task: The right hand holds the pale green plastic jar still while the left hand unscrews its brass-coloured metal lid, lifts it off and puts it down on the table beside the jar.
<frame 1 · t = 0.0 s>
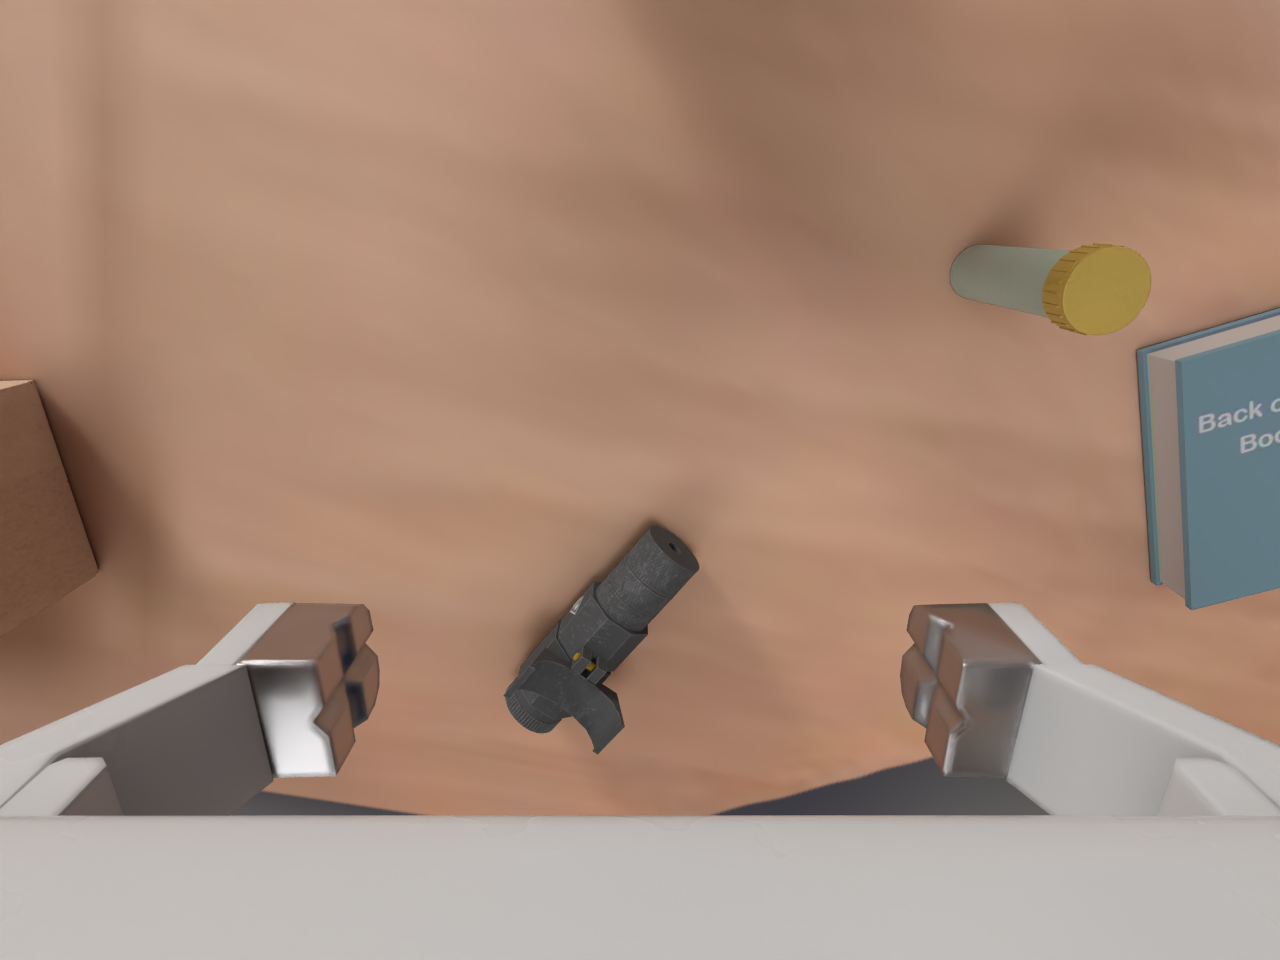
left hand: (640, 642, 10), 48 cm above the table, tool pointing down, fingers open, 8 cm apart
lid: (1103, 291, 40), point 16 cm above the table, screwed on, not yet turned
jar: (976, 272, 55), on the table
laser sight: (598, 615, 66), on the table
book: (1238, 446, 60), on the table
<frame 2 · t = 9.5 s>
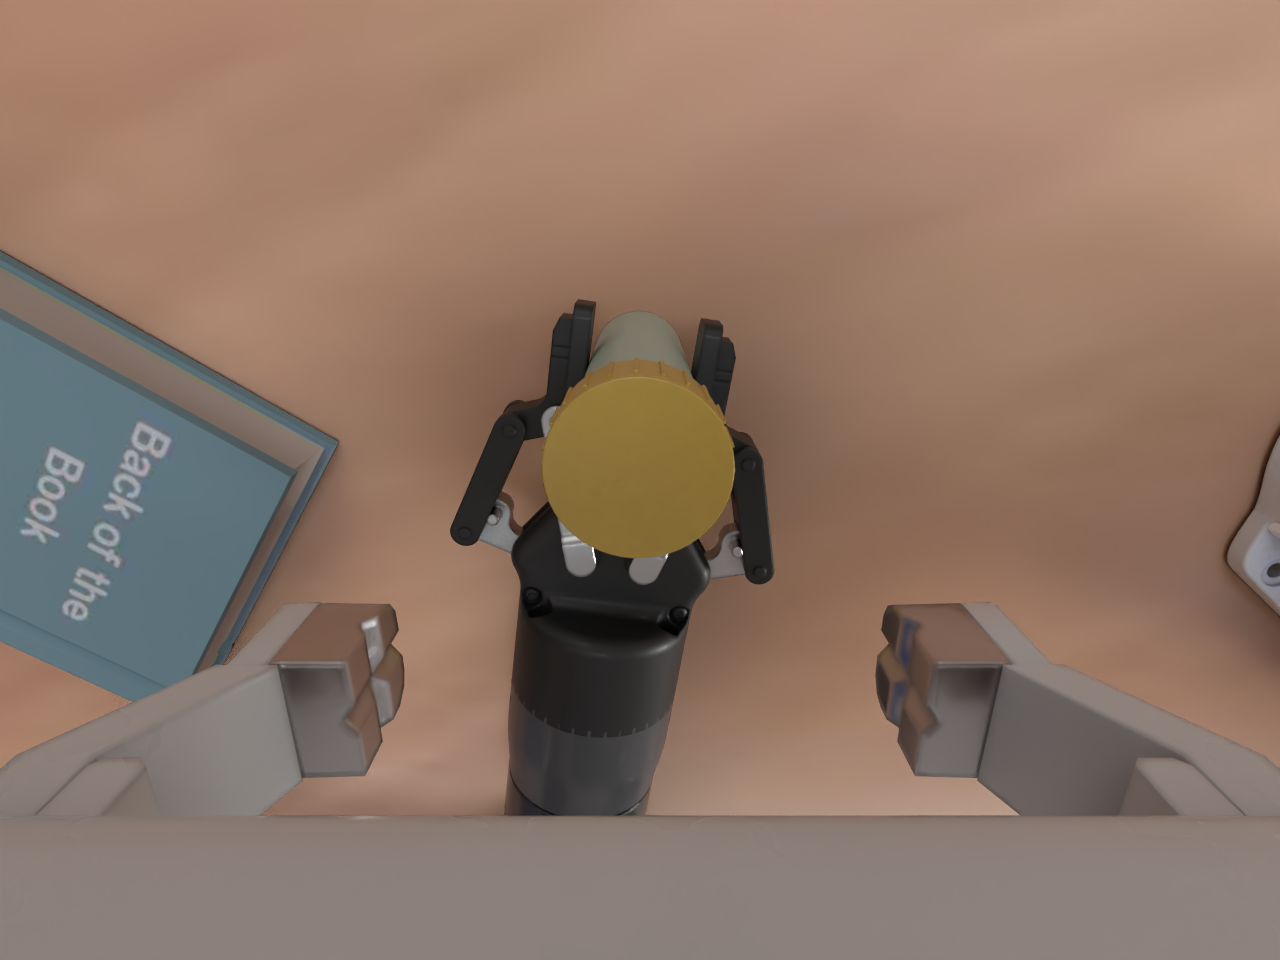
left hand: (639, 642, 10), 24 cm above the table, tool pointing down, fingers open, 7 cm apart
right hand: (648, 314, 26), fingers closed on jar, 4 cm apart
lid: (638, 467, 18), point 16 cm above the table, screwed on, not yet turned
jar: (638, 355, 33), on the table, touching right hand
book: (65, 451, 34), on the table
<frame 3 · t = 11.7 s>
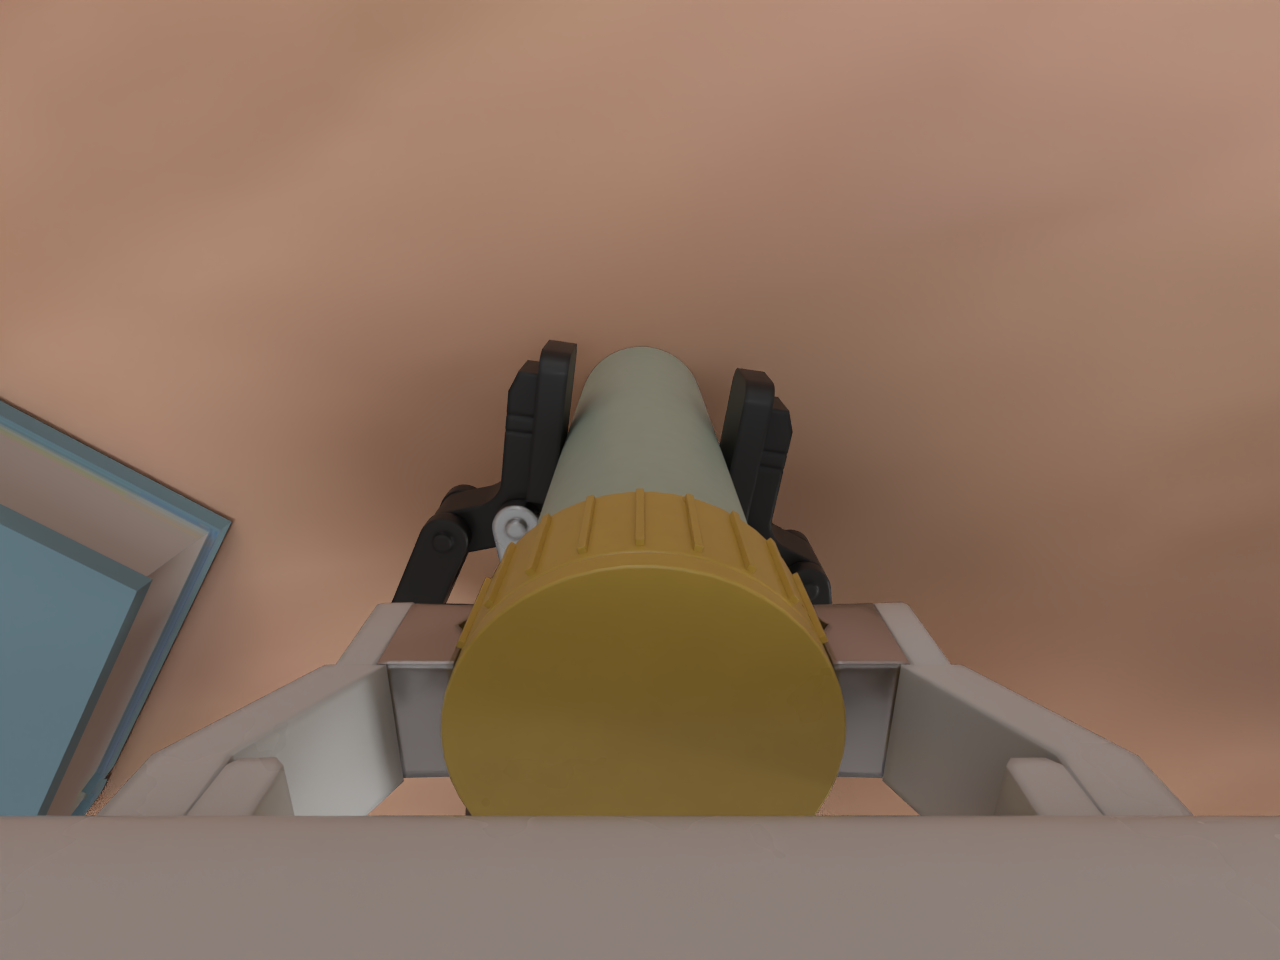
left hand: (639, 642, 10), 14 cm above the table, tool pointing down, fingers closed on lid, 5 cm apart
lid: (643, 726, 9), point 16 cm above the table, screwed on, not yet turned, touching left hand
jar: (641, 407, 24), on the table, touching right hand
when the left hand's fingers open (14 cm above the table, at t = 12.9 s): lid stays where it is, point 16 cm above the table.
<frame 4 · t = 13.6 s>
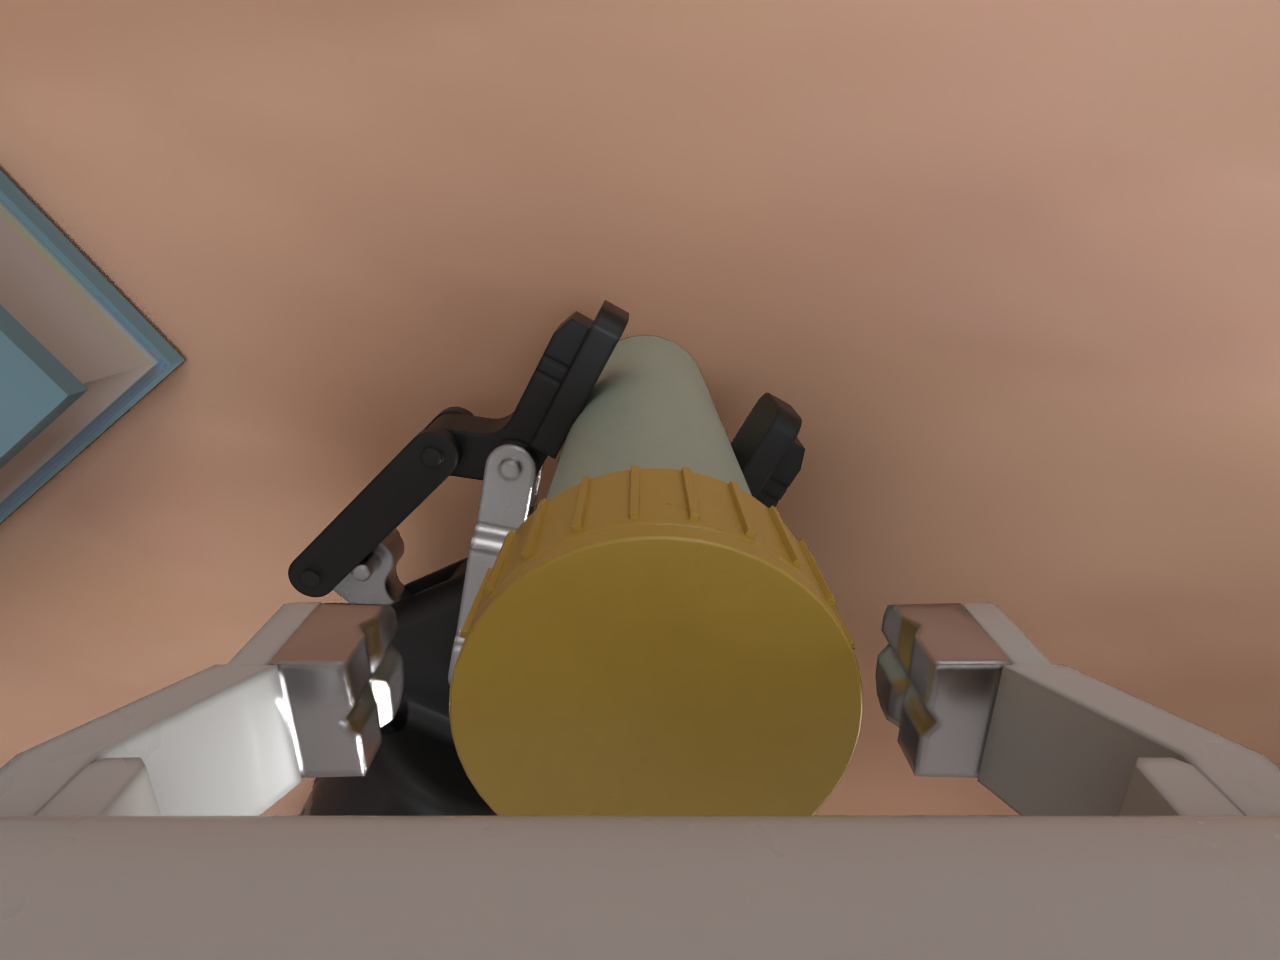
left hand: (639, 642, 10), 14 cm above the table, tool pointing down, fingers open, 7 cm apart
lid: (655, 704, 8), point 16 cm above the table, turned 72° so far, risen 0.2 cm, still on its thread
jar: (644, 396, 24), on the table, touching right hand
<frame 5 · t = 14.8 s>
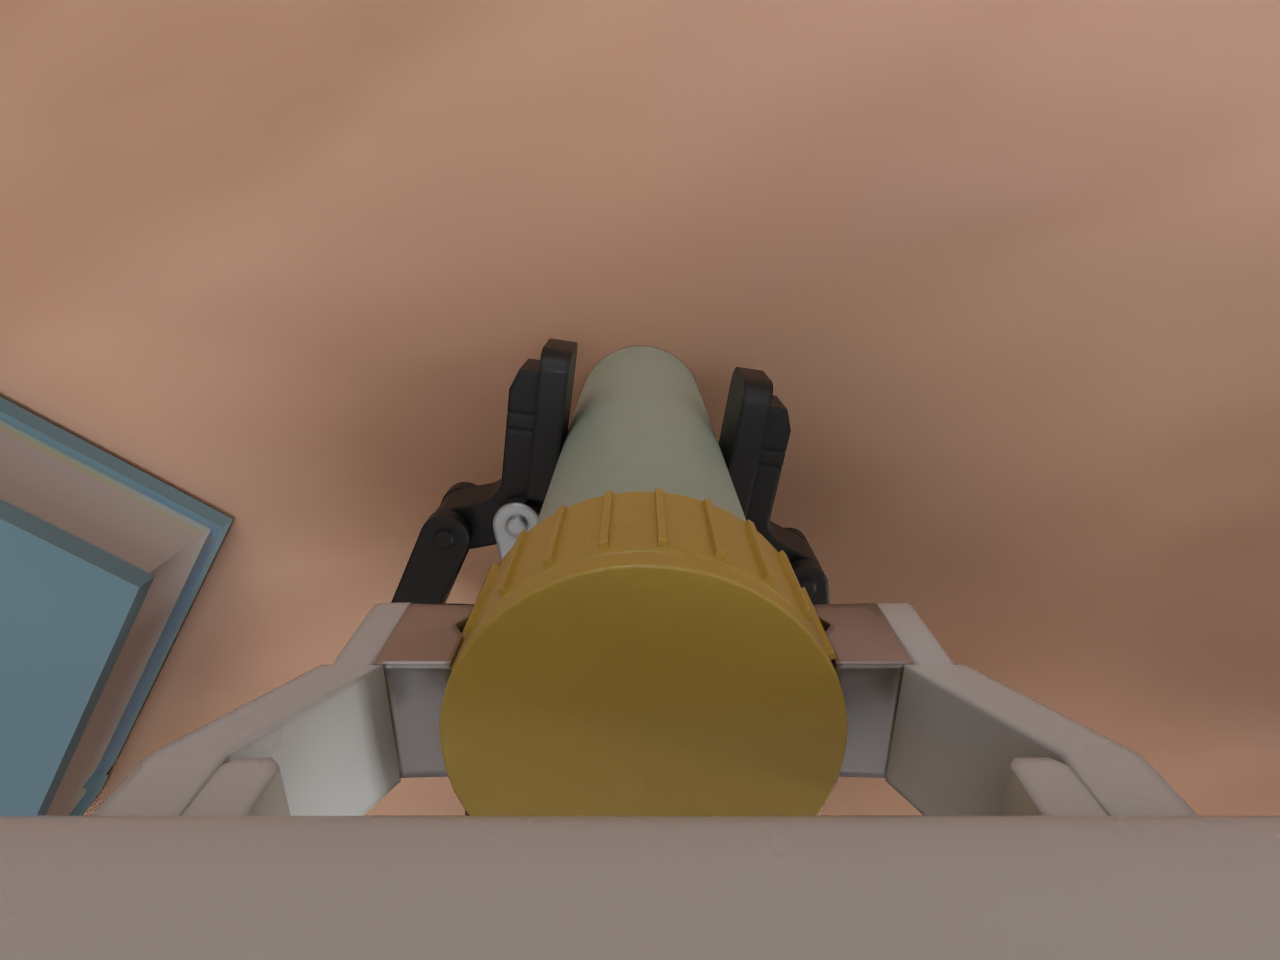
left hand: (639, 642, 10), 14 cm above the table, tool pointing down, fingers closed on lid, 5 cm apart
lid: (643, 727, 9), point 16 cm above the table, turned 72° so far, risen 0.2 cm, still on its thread, touching left hand
jar: (640, 406, 24), on the table, touching right hand
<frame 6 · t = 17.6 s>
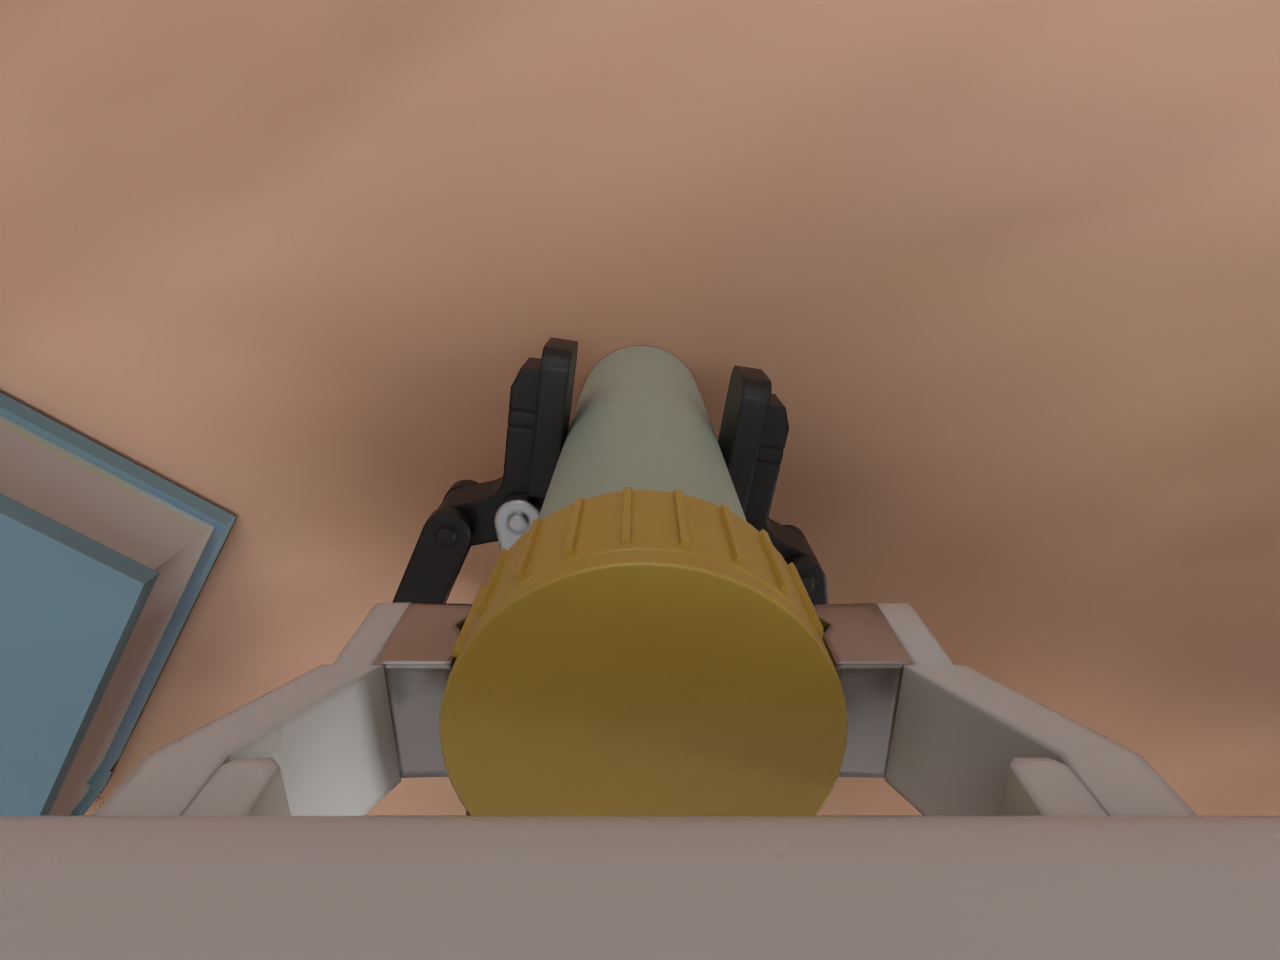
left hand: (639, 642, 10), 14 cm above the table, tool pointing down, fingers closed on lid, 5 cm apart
lid: (643, 725, 9), point 16 cm above the table, turned 145° so far, risen 0.4 cm, still on its thread, touching left hand
jar: (640, 405, 24), on the table, touching right hand
when the left hand's fingers open (2 cm above the table, at t = 24.1 s): lid drops 2 cm, point 2 cm above the table.
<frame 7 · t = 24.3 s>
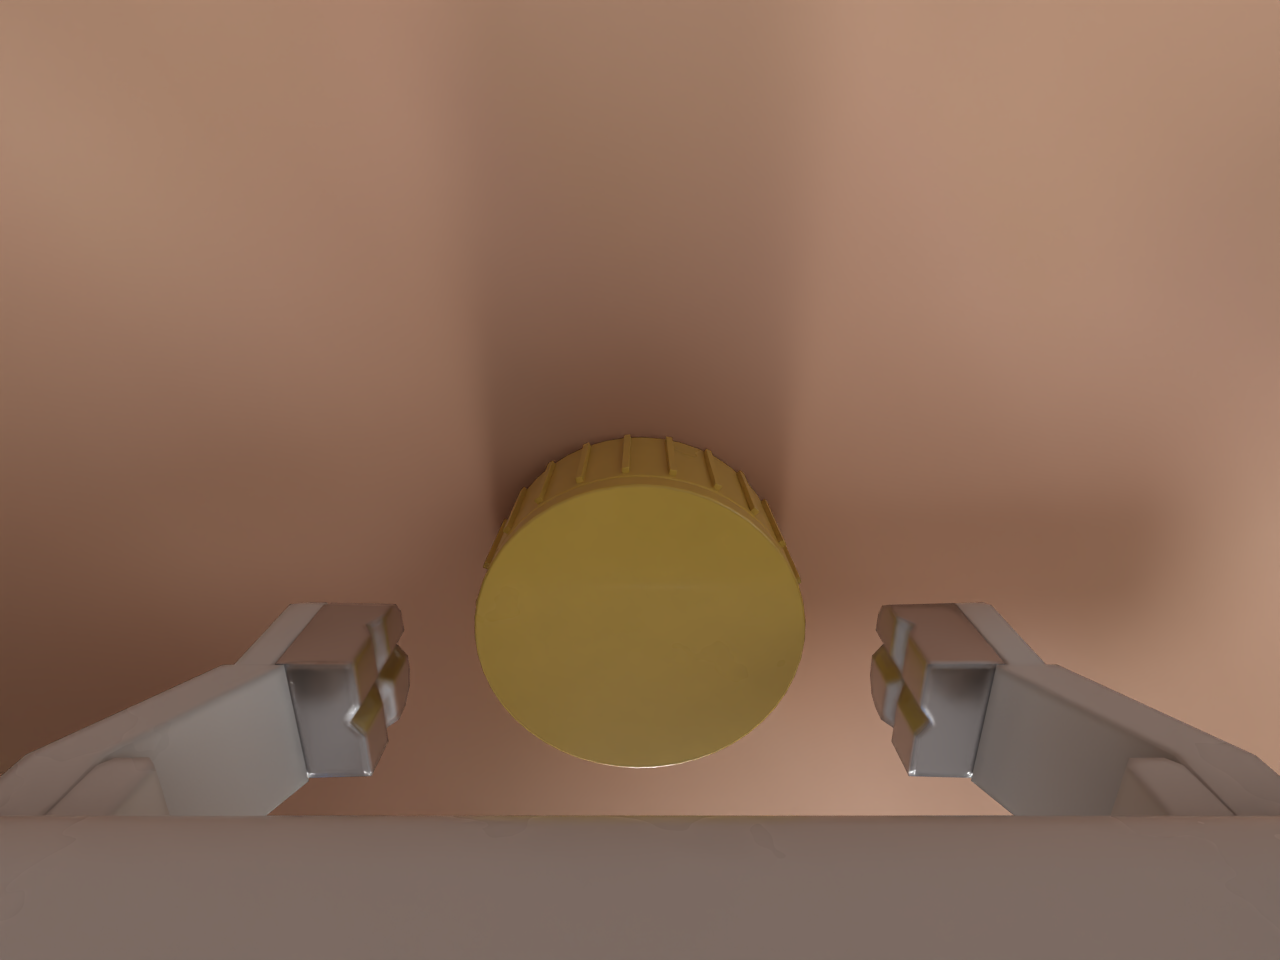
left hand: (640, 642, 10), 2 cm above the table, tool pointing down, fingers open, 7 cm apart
lid: (639, 626, 11), point 2 cm above the table, off its thread
when the right hand's fingers open (6 cm above the table, at t = 25.1 s): jar stays where it is, on the table.
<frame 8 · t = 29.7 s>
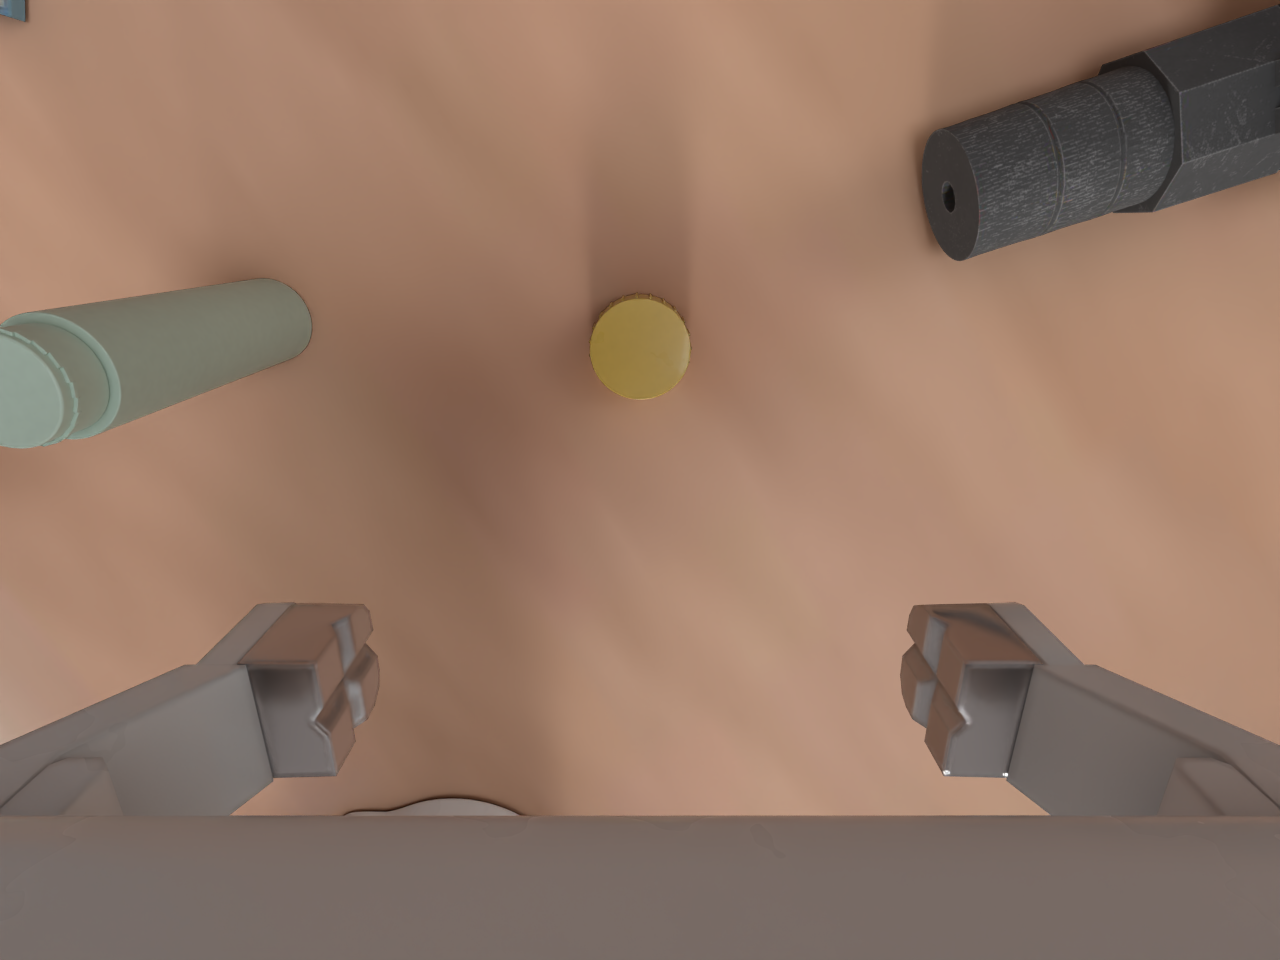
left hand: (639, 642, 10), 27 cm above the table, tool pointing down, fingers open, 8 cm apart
lid: (640, 349, 34), point 2 cm above the table, off its thread
jar: (271, 320, 35), on the table
laser sight: (1160, 119, 32), on the table
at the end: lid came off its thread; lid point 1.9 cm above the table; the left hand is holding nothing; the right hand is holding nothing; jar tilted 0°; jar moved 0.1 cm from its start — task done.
